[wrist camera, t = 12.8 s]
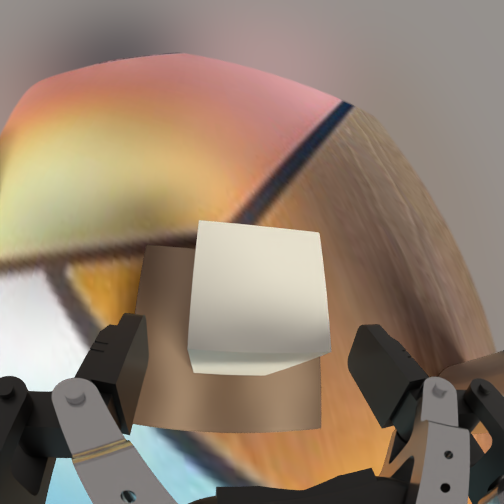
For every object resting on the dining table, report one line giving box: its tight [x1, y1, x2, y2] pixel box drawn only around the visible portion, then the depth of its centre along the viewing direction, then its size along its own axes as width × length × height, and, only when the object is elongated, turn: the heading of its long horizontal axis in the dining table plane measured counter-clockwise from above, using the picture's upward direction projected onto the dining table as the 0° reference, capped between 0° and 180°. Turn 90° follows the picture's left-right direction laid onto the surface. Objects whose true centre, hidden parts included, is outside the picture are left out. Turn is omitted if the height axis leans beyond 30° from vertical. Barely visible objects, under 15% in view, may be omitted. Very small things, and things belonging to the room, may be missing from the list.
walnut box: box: [133, 245, 321, 433], centre depth 23 cm, size 14×14×6 cm
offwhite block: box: [187, 220, 331, 376], centre depth 15 cm, size 5×5×11 cm
